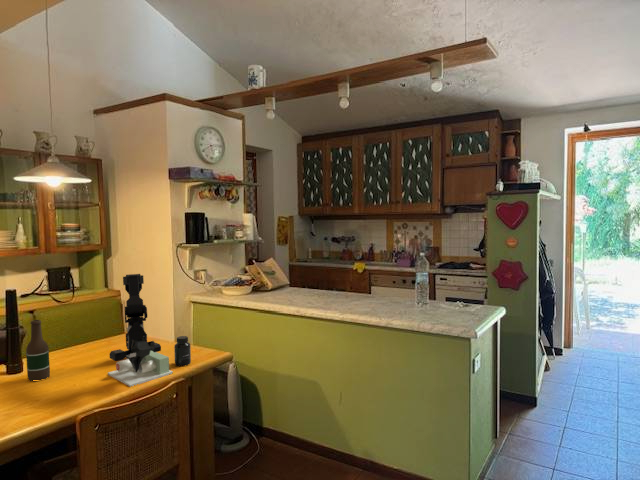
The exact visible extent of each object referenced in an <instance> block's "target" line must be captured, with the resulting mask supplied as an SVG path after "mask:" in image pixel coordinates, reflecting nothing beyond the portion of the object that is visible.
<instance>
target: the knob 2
mask: <svg viewBox="0 0 640 480" xmlns="http://www.w3.org/2000/svg"><path fill="white" fill-rule="evenodd" d="M156 368H157V363H156V361H155V360H150V361H147V362H143V363H140V366H139V368H138V370H139V372H140V373H144V372H148V371H151V370H155V369H156Z"/></svg>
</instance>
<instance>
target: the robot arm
mask: <svg viewBox="0 0 640 480" xmlns="http://www.w3.org/2000/svg"><path fill="white" fill-rule="evenodd" d="M144 281H145V280H144V275H143V274H142V275H141V273H134V274H133V273H130V274H125V276H122V283H123V285H122V286H124V287H125V288H124V289H125V291H126V293H128V297H129V298H128V299H127V300H126V303H125V305H126V306H124V324H127V328H126V333H125V346H126V349H127V350H122V349H121V348H120V349H115V350H111V351H110V352H109V359H111V360H113V361H114V362H119V361H123V360H126V359H129V360H130V362H131V364H132V366H133V368H134V370H135V372H137V371H138V368H139V366H140V363H141V361H142V359H143V358H144V357H145V356H147V355H149V354H150V351H153V352H157V353H159V352H161V351H162V346H161V344H160V343H158V342H155V341H154V340H152V341H151V340H150V341H148V334H147V333H146V331H145V328H144V322H147V318H148V308H147V305H146V304H144V299H142V297H140V292H141V291H142V289H143V284H145V283H144ZM125 358H126V359H125Z"/></svg>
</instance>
